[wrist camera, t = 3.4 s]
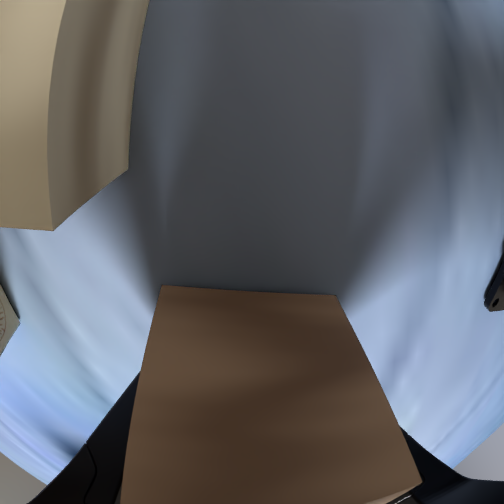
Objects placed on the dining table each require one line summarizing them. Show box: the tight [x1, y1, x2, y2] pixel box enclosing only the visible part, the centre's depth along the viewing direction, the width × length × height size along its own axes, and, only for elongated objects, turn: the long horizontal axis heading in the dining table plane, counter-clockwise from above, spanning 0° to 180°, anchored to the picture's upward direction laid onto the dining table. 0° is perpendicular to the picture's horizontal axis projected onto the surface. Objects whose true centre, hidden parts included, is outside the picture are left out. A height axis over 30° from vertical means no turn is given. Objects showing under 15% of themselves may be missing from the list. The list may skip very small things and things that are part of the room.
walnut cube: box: [120, 285, 422, 504], centre depth 7 cm, size 5×5×6 cm
